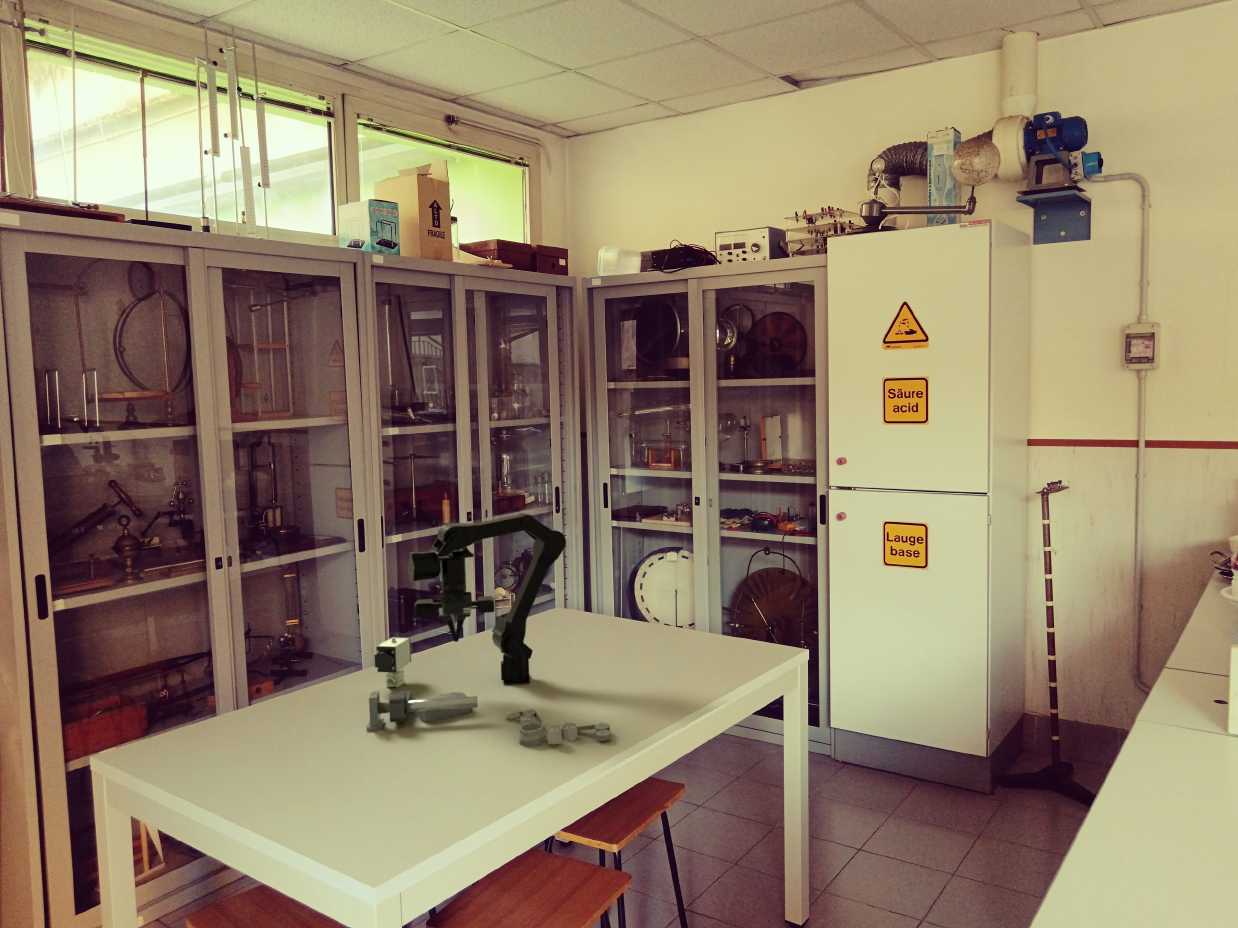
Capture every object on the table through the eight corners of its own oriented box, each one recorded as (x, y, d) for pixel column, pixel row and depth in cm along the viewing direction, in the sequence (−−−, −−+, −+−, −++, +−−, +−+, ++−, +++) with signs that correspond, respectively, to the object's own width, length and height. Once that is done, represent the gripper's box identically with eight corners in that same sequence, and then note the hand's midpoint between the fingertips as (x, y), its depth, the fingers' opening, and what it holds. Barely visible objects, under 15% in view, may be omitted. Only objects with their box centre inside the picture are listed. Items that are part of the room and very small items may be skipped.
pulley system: (578, 765, 173) (622, 735, 185) (576, 742, 173) (620, 713, 185) (474, 742, 189) (521, 716, 201) (472, 720, 188) (519, 695, 201)
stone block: (410, 719, 203) (423, 723, 195) (408, 697, 204) (421, 701, 195) (460, 711, 209) (475, 715, 200) (459, 689, 210) (473, 693, 201)
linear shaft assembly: (478, 715, 199) (477, 684, 198) (477, 723, 194) (476, 692, 193) (370, 722, 196) (368, 691, 195) (366, 731, 191) (365, 698, 190)
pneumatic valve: (414, 678, 226) (412, 631, 226) (393, 693, 215) (391, 644, 214) (393, 677, 228) (391, 630, 227) (372, 692, 216) (370, 643, 215)
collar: (411, 701, 206) (410, 678, 206) (404, 723, 192) (403, 699, 191) (398, 702, 206) (397, 679, 205) (390, 724, 192) (388, 700, 191)
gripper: (410, 585, 205) (412, 653, 206) (492, 581, 207) (495, 648, 208) (415, 576, 216) (417, 640, 217) (493, 572, 218) (495, 635, 219)
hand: (456, 641), depth 215 cm, fingers closed
